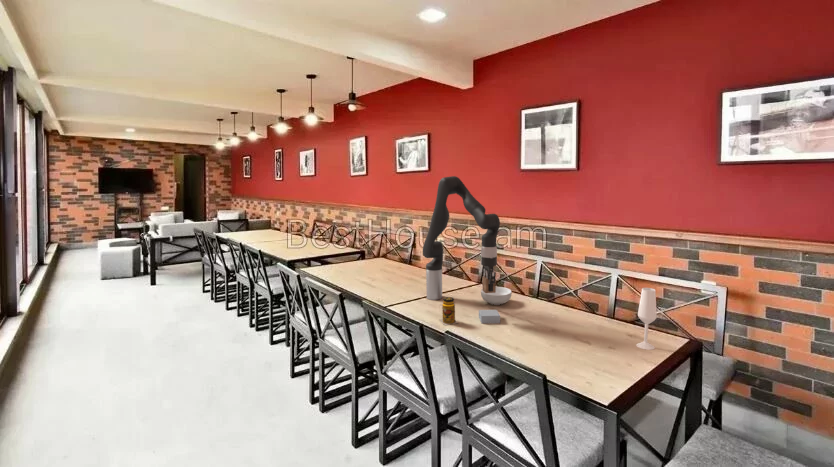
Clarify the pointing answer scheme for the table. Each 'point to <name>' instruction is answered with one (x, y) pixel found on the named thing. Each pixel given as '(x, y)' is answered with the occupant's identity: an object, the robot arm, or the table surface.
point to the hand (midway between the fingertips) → (489, 289)
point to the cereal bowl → (497, 296)
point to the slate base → (489, 316)
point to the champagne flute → (647, 313)
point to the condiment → (448, 311)
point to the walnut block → (485, 285)
